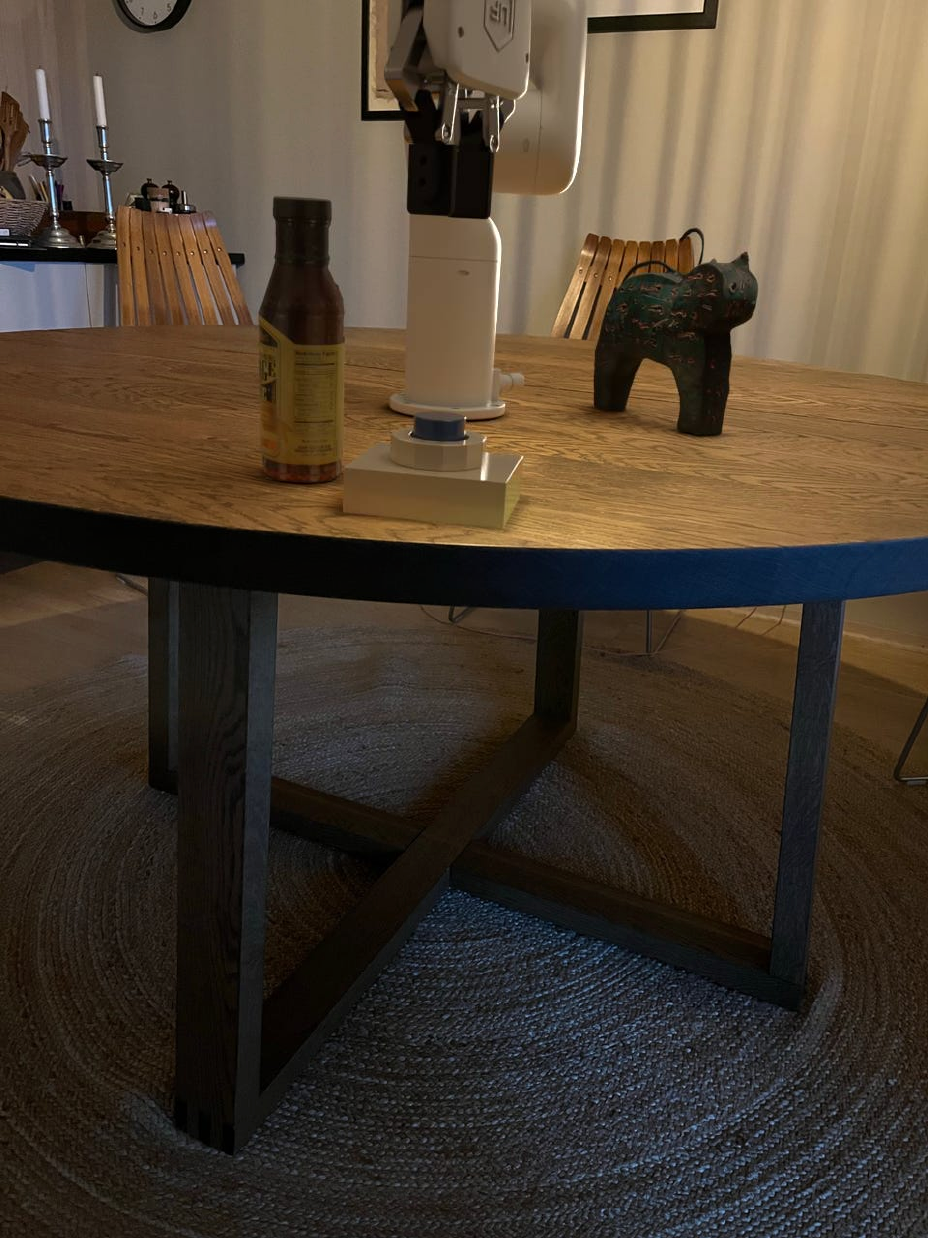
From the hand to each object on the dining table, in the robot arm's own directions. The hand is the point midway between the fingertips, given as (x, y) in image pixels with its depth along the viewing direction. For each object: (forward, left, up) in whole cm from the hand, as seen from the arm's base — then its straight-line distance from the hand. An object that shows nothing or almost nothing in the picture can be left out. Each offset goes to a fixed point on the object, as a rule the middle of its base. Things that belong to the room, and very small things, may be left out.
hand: (449, 213), depth 64 cm
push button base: (0, 0, -19) cm, 19 cm away
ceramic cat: (-44, -17, -19) cm, 51 cm away
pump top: (0, 0, -15) cm, 15 cm away
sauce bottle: (+4, -11, -19) cm, 23 cm away
